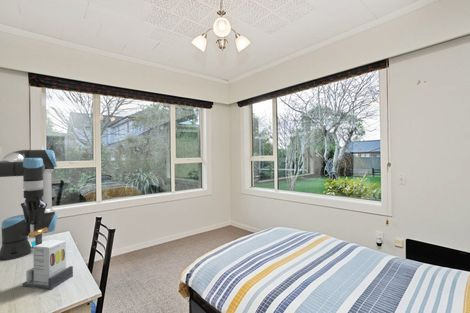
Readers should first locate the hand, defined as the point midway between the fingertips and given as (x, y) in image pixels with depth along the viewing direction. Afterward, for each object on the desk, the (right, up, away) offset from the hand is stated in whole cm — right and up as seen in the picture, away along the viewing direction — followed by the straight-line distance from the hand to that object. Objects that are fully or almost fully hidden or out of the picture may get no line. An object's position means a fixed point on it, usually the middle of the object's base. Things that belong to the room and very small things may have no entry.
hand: (34, 236), depth 117 cm
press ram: (+2, -19, 0) cm, 19 cm away
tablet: (-35, -21, +46) cm, 61 cm away
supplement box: (+8, -20, 0) cm, 21 cm away
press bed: (+8, -22, -1) cm, 23 cm away
